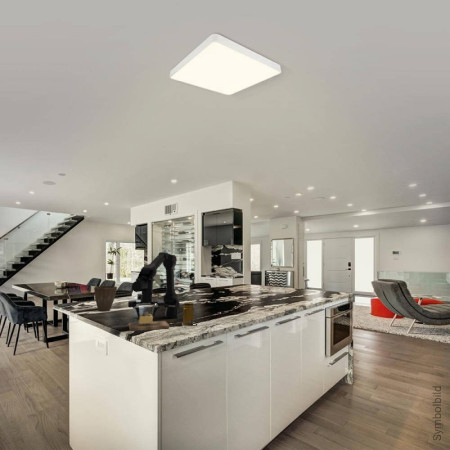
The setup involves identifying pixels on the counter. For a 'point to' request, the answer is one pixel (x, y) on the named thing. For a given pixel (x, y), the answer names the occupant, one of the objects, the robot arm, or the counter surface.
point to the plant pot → (104, 297)
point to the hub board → (148, 325)
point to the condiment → (188, 314)
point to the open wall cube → (145, 319)
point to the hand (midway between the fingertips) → (145, 319)
